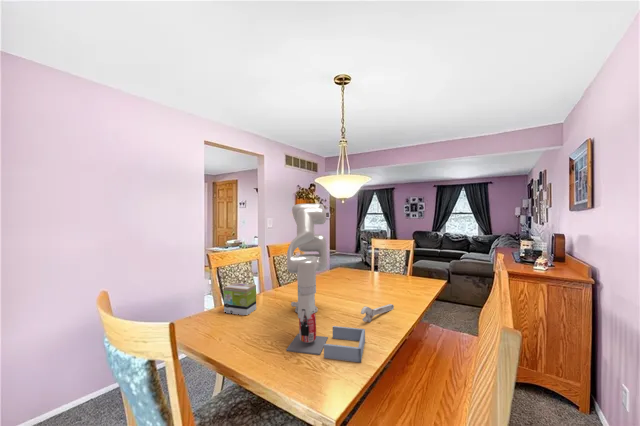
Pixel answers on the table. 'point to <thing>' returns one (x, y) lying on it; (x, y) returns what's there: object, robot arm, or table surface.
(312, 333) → the soda can
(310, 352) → the mat
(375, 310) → the wrench
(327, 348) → the cubby
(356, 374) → the table surface
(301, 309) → the robot arm
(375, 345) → the table surface
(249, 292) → the tea box
